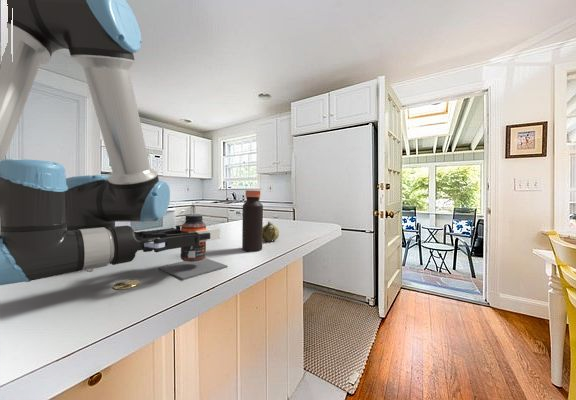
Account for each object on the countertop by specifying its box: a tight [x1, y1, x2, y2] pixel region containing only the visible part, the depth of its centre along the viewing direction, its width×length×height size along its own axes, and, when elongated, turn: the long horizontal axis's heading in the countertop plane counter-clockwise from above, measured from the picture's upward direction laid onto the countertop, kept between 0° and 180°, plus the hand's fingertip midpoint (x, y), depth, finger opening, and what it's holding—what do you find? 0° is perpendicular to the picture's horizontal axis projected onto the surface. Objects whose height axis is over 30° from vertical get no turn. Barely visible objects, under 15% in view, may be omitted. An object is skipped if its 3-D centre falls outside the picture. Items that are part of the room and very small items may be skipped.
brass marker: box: [112, 279, 140, 291], centre depth 50 cm, size 4×4×1 cm
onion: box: [262, 221, 280, 242], centre depth 95 cm, size 8×8×8 cm
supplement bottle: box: [180, 214, 207, 262], centre depth 61 cm, size 6×6×11 cm
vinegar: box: [241, 190, 264, 252], centre depth 81 cm, size 7×7×20 cm
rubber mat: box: [158, 257, 228, 281], centre depth 61 cm, size 12×12×1 cm
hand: (211, 232), depth 65 cm, fingers closed on supplement bottle, 6 cm apart
